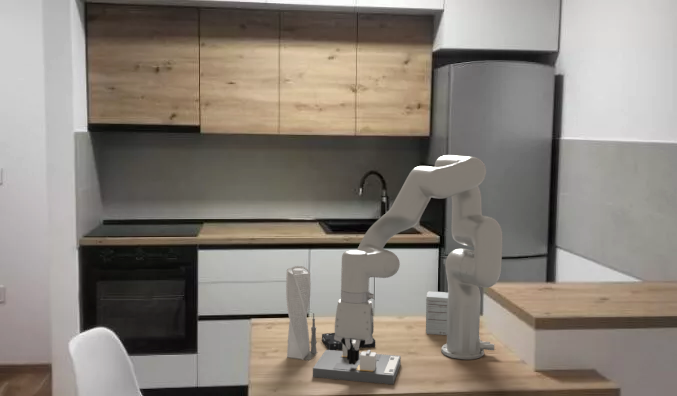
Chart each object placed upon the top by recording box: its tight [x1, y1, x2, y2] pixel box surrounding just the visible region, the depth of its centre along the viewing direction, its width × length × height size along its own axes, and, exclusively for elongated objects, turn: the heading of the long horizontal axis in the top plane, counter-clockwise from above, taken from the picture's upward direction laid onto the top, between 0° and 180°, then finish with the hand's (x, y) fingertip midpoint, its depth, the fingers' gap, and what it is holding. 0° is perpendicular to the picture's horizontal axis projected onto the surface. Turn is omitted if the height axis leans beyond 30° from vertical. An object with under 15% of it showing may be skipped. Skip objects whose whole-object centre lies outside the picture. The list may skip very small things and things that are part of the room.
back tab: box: [342, 339, 356, 356], centre depth 186 cm, size 4×3×5 cm
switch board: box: [312, 349, 402, 385], centre depth 182 cm, size 22×15×3 cm
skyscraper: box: [285, 265, 319, 361], centre depth 192 cm, size 8×8×28 cm
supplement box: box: [425, 290, 448, 336], centre depth 216 cm, size 7×7×13 cm
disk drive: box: [321, 332, 376, 351], centre depth 204 cm, size 10×3×15 cm
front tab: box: [360, 349, 377, 371], centre depth 176 cm, size 4×3×5 cm
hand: (352, 362), depth 177 cm, fingers closed
